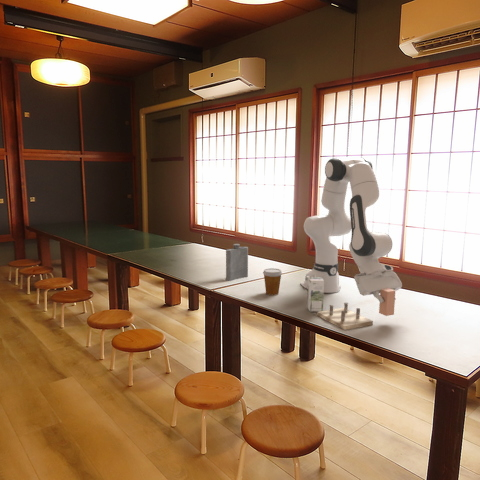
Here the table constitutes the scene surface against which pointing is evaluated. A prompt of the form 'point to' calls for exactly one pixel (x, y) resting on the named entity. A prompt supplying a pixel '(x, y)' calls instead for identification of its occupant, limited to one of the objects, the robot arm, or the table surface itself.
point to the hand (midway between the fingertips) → (388, 301)
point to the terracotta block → (387, 302)
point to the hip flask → (236, 262)
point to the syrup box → (315, 294)
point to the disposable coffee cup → (272, 280)
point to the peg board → (345, 317)
